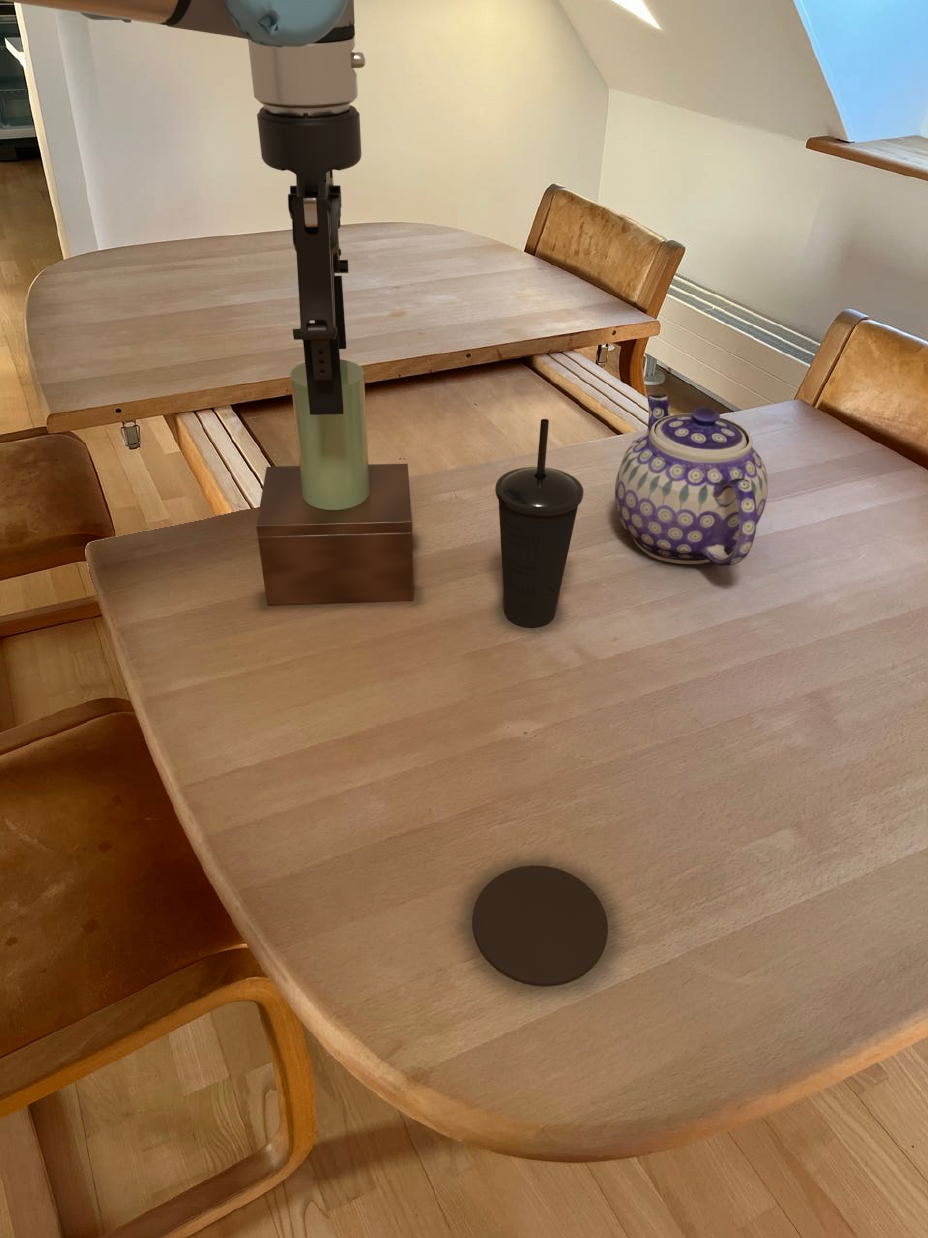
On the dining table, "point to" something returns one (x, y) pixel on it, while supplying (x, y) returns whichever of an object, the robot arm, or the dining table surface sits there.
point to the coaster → (540, 925)
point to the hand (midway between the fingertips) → (329, 378)
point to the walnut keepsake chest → (336, 542)
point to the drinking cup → (535, 536)
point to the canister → (333, 443)
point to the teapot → (691, 487)
